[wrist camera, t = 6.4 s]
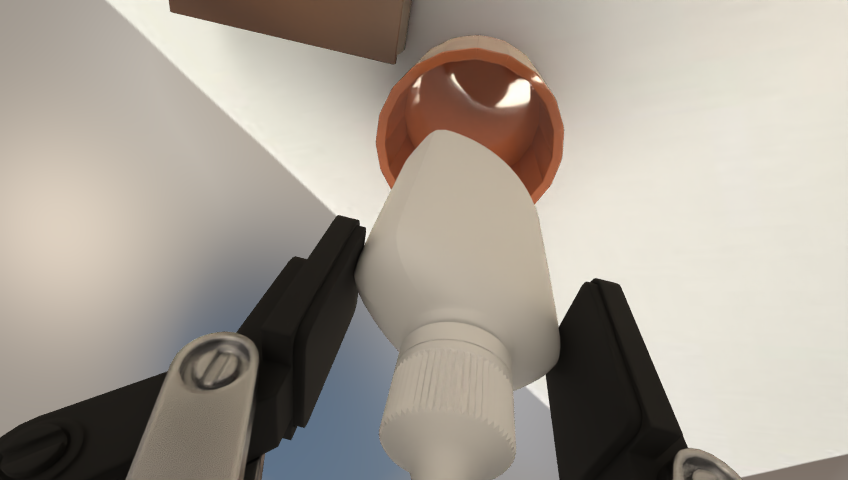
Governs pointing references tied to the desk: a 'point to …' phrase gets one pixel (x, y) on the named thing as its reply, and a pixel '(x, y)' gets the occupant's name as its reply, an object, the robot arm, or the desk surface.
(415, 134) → the pencil cup
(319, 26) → the walnut box
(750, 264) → the desk surface
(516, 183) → the eye dropper bottle
